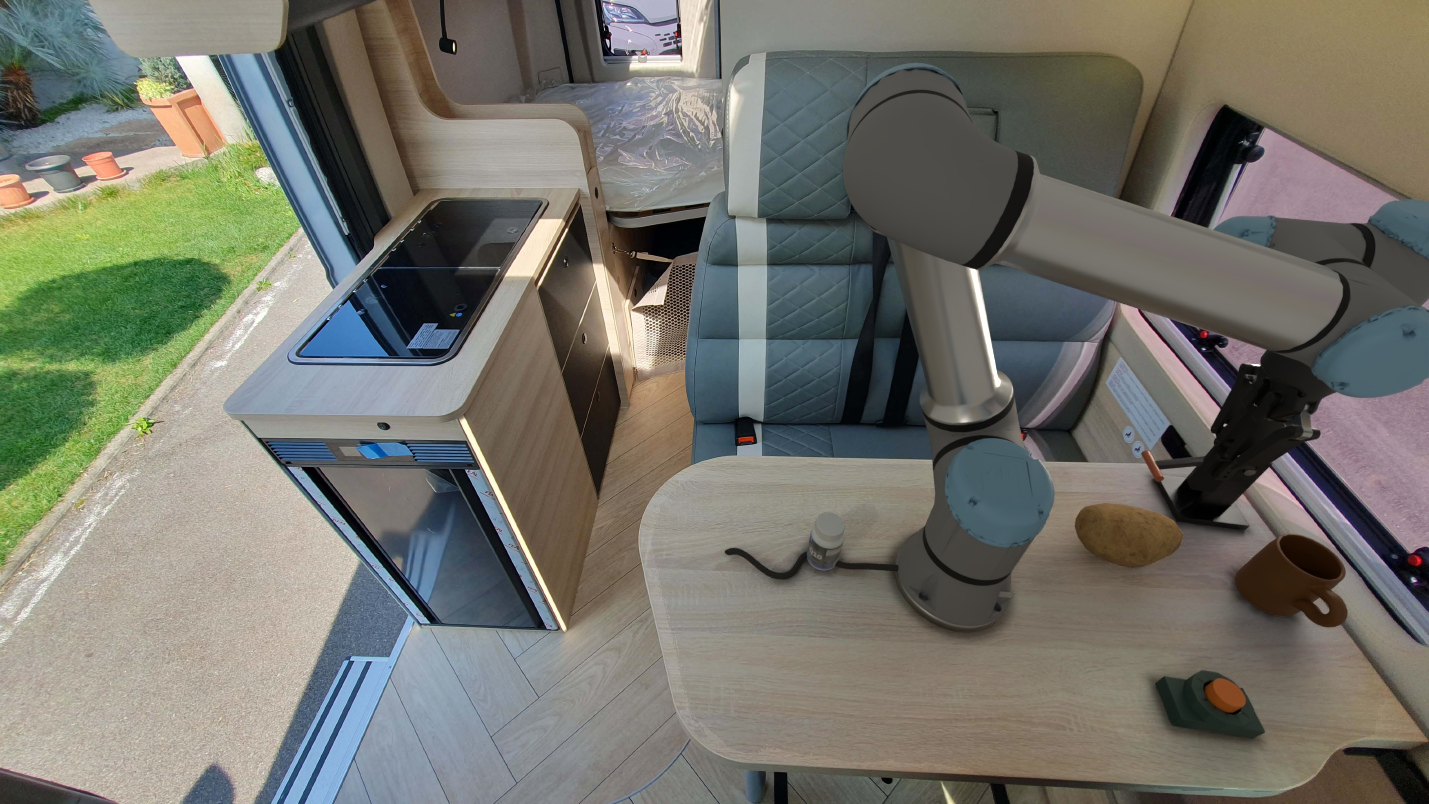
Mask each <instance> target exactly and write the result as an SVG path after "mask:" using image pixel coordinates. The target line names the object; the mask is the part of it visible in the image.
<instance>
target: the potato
mask: <svg viewBox="0 0 1429 804" xmlns="http://www.w3.org/2000/svg"><path fill="white" fill-rule="evenodd" d="M1074 529H1075V532H1076V535H1077V538H1078V540H1079V542H1081V544H1082V546H1083V547H1084V548H1085V549H1086V550H1087V551H1088V552H1089V553H1091V554H1092V555H1093V556H1095V558H1098V559H1100V560H1102V561H1104V562H1106V563H1109V564H1112V565H1115V566H1120V567H1124V568H1130V569H1136V568H1142V567H1147V566H1150V565H1153V564H1155V563H1158V562H1160V561H1161V560H1163V559H1166V558H1167V557H1170V556H1172V555H1173V554H1174V553H1175V552H1176V551H1178V550H1179V549H1180V547H1181V545H1182V542H1183V538H1184V533H1183V531H1182V530H1181V528H1180V526H1179V525H1178V524H1177V522H1176V520H1175V519H1172V518H1170V517H1168V516H1166V515H1164V514H1162V513H1160V512H1158V511H1154V510H1151V509H1150V510H1149V509H1145V508H1141V507H1137V506H1133V505H1127V504H1121V503H1120V504H1119V503H1109V502H1101V503H1095V504H1090V505H1087V506H1083V508H1082V509H1080V510H1079V512H1078V514H1077V515H1076V517H1075V521H1074Z"/></svg>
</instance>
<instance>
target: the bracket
mask: <svg viewBox="0 0 1429 804" xmlns="http://www.w3.org/2000/svg"><path fill="white" fill-rule="evenodd" d="M1272 465H1273V462H1272V463H1270V464H1269V465H1267V466H1265V467H1264V468H1262V469H1261V470H1259V471H1251V470H1244V469H1238V471H1237V472H1236V473H1235V474H1234V475H1233V476H1232V477H1231V478H1230V479H1229V480H1227V481H1223V483H1222V484H1221V485H1220V486H1219V487H1218V488H1217V489H1216V490H1215V491H1214V492H1207V491H1200V490H1192V489H1191V487H1190V486H1189V484H1188V482H1187V481H1188V480H1189V478H1190V477H1191V476H1192V475H1193V474H1194V472H1195V471H1196V470H1197V469H1198V468H1199V466H1195V467H1193V470H1192V471H1191V472H1190V473H1189V474H1188V475H1187V476H1186V477H1185V476H1177V475H1169V474H1162V475H1163V476H1164V480H1163V481H1159V482H1158V481H1155V479H1154V477H1152V478H1153V481H1154V484H1155V486H1156V487H1157V488H1158V490H1159V492H1160V495H1161V496H1162V498H1163V500H1164V503H1166V505H1167V508H1168V509H1169V511H1170V513H1171V515H1172V517H1173V520H1174V521H1175V523H1181V524H1183V523H1184V524H1191V525H1199V526H1208V527H1214V528H1223V529H1229V530H1230V529H1231V530H1239V531H1246V530H1247V529H1248V528H1250V524H1249V522H1248V521H1247V520H1246V518H1245V516H1244V515H1243V513H1242V512H1241V510H1240V508H1239V507H1238V506H1237V504H1236V501H1238V499H1239V498H1240V497H1241V496H1242V495H1244V493H1245V492H1247V490H1248V489H1249V488H1250V487H1251V486H1252V485H1253V484H1254V483H1255V482H1256V481H1257V480H1258V479H1259V478H1260V477H1261V476H1262V475H1264V473H1265V472H1266V471H1267V470H1268V469H1269V468H1270V467H1272Z"/></svg>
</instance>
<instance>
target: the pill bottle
mask: <svg viewBox="0 0 1429 804" xmlns="http://www.w3.org/2000/svg"><path fill="white" fill-rule="evenodd" d="M845 528H846V524H845V521H844V519H843V518H842V517H841V516H840V515H839V514H837V513H835V512H831V511H826V512H822V513H820V514H819V515H818V516H817V517H816V520H815V522H814V523H813V525H812V526H811V529H810V533H809V538H808V542H807V547H806V551H807V559H806V560H807V562H808V563H809V564H810V566H812V567H813V569H816V570H819V571H830V570H832V569H834V568H835V567H836V566H835V564H836V563H837V561H839V559H840V555H841V552H842V549H843V545H844V543H845V537H846V534H845Z"/></svg>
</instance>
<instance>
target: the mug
mask: <svg viewBox="0 0 1429 804" xmlns="http://www.w3.org/2000/svg"><path fill="white" fill-rule="evenodd" d="M1346 572H1347V570H1346V568H1345V564H1344V563H1343V561H1342V560H1341V558H1340V557H1339V556H1338V555H1337V553H1335V552H1333V550H1331V548H1329V547H1328V546H1326V545H1324V544H1323V543H1321V542H1319V541H1318V540H1315V539H1313V538H1311V537H1309V536H1306V535H1302V534H1299V533H1282V534H1280V535H1279V536H1277V537H1275V538H1274V539H1272V540H1270V542H1268V543H1267V544H1266V545H1265V546H1264V547H1263V548H1261V549H1260V550H1259V551H1258V552H1257V553H1256V554H1254V555H1253V556H1252V557H1251V558H1250V559H1249V560H1248V561H1247V562H1246V563H1244V564H1243V566H1241V567H1240V568H1239V569H1238V570H1237V572H1236V573H1235V575H1234V584H1235V587H1236V589H1237V590H1238V593H1239V594H1240V595H1241V596H1242V597H1243V598H1244V599H1245V600H1246V601H1247V602H1248V603H1249V604H1251V605H1252V606H1253V607H1255V608H1256V609H1258V610H1260V611H1262V612H1264V613H1266V614H1269V615H1271V616H1274V617H1282V618H1283V617H1286V618H1287V617H1291V616H1294V615H1297V614H1298V613H1300V612H1302V613H1303V614H1304V616H1305V617H1306V618H1307V619H1308V620H1310V622H1312V623H1314V624H1315V625H1317V626H1320V627H1322V628H1328V629H1329V628H1336V627H1339V626H1341V625H1343V623H1345V622H1346V620H1347V618H1348V614H1349V610H1348V607H1347V605H1346V603H1345V601H1344V599H1343V598H1342V597H1341V596H1340V595H1339V594H1338V593H1336V592H1335V591H1333V589H1334V588H1336V587H1337V586H1338V585H1339V584H1340V583H1342V581H1343V580H1344V579H1345V577H1346V576H1347V575H1346V574H1347V573H1346ZM1319 599H1321V600H1322V601H1323V602H1325V604H1326V605H1327V606H1328V612H1327V613H1324V612H1323V611H1322V610H1321V609H1320V607H1319V606H1318V605H1317V604H1316V603H1315V602H1316V601H1317V600H1319Z"/></svg>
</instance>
